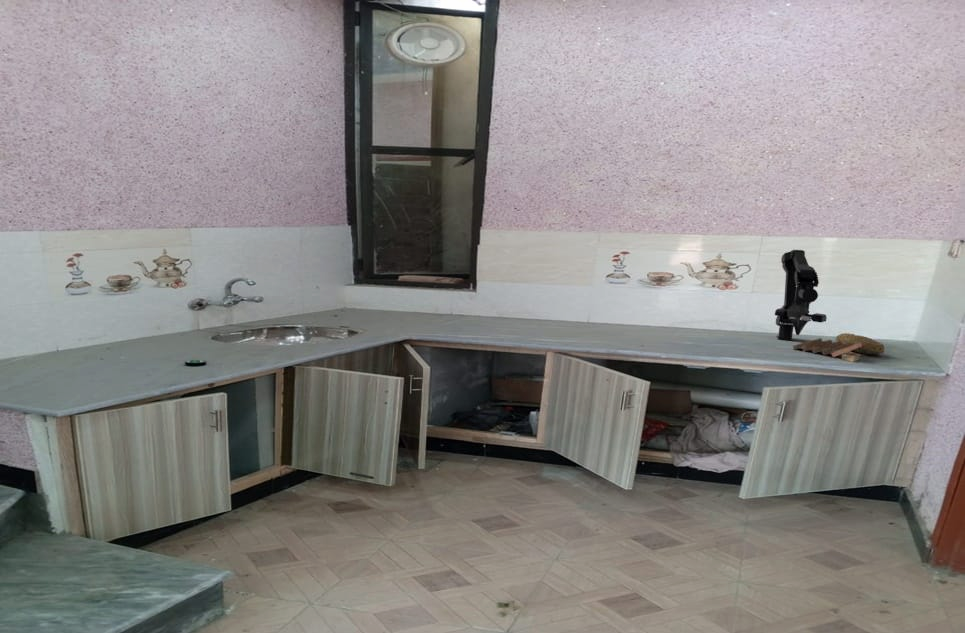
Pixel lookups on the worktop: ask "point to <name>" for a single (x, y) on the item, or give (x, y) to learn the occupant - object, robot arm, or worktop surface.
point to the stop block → (850, 356)
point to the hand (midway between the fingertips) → (797, 334)
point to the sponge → (867, 343)
